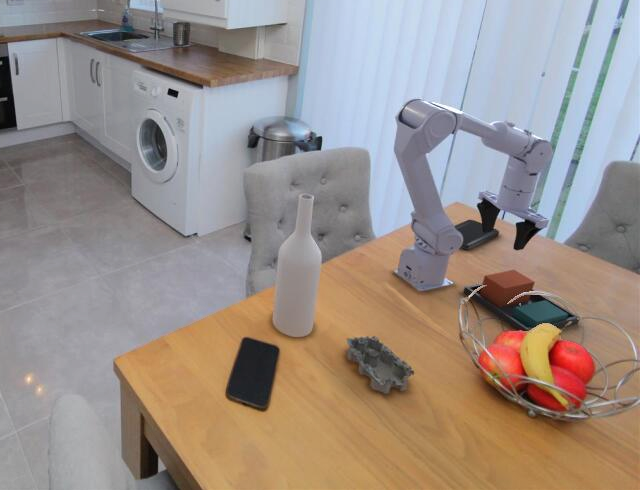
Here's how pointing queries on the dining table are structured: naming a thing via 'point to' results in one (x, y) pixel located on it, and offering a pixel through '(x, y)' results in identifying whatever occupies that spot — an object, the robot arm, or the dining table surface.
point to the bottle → (297, 276)
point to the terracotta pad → (506, 288)
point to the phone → (474, 234)
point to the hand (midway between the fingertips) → (502, 240)
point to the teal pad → (538, 313)
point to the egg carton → (379, 364)
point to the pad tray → (508, 310)
